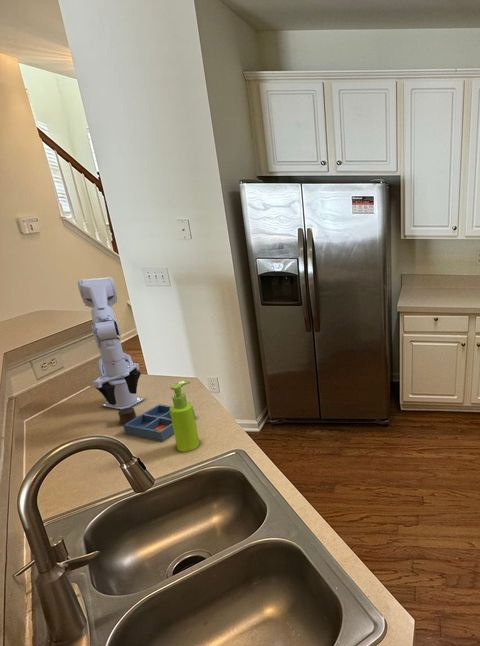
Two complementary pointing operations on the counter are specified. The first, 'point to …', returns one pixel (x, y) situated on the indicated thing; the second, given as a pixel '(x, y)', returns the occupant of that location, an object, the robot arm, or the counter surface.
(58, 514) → the counter surface
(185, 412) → the soap dispenser
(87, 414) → the counter surface
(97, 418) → the counter surface
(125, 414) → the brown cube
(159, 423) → the grid
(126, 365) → the robot arm
